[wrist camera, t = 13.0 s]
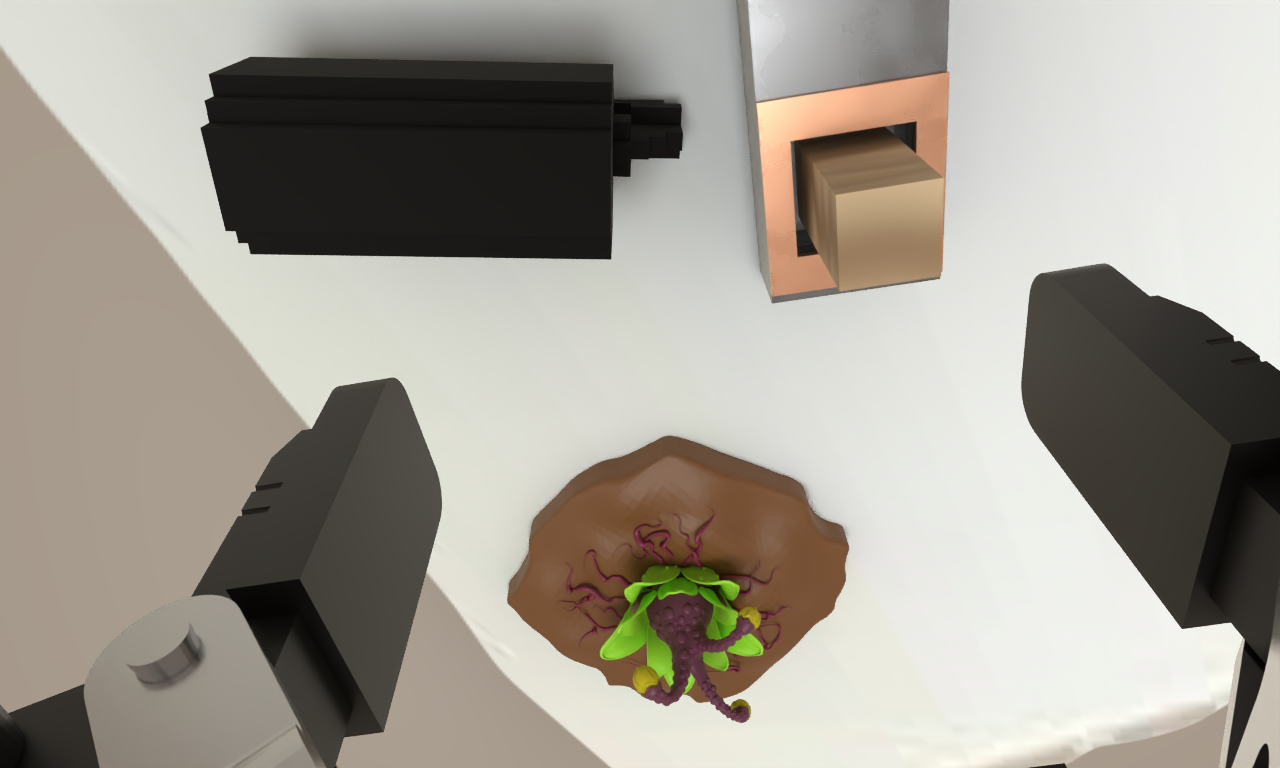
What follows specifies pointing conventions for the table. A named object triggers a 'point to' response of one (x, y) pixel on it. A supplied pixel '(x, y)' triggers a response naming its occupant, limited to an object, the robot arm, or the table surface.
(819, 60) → the rail
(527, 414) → the table surface
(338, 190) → the security camera
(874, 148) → the brown upright block
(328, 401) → the robot arm
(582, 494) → the plant
